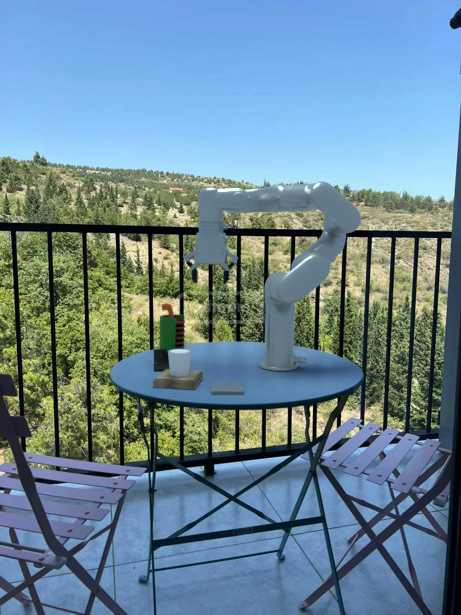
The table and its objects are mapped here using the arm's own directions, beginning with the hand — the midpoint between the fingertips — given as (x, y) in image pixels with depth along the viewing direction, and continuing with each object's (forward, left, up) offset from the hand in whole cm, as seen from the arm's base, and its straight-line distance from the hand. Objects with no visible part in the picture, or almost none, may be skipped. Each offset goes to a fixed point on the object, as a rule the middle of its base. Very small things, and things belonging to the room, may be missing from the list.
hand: (210, 282), depth 164 cm
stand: (+6, +17, -28) cm, 34 cm away
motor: (+14, -8, -28) cm, 33 cm away
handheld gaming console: (+13, 0, -29) cm, 32 cm away
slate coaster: (-9, +21, -28) cm, 36 cm away
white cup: (+6, +17, -26) cm, 31 cm away
